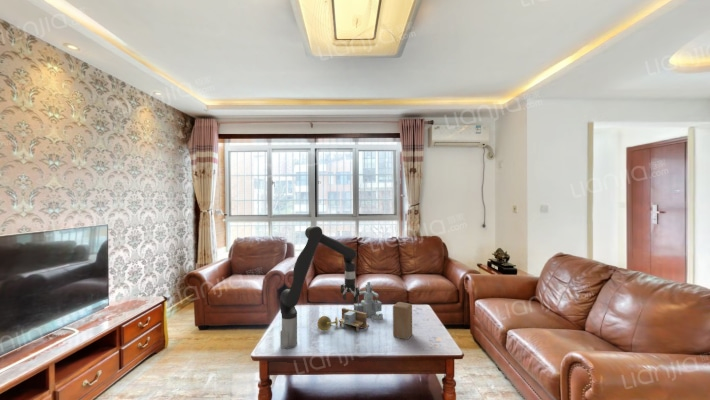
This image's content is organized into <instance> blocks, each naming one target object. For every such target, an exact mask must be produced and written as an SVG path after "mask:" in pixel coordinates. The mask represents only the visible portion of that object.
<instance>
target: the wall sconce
mask: <svg viewBox="0 0 710 400" xmlns="http://www.w3.org/2000/svg"><path fill="white" fill-rule="evenodd" d="M332 324H334V325H335V327H336V328H338V327H339V320H338V317H337V316H335V321H331V318H330V317H329V316H327V315H322V316H320V317H319V318H318V320H317V324H316V325H317V328H318V329H319V330H320V331H322V332H327V331H329V330H330V328H331V326H332Z"/></svg>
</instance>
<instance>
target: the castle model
mask: <svg viewBox="0 0 710 400" xmlns="http://www.w3.org/2000/svg"><path fill="white" fill-rule="evenodd" d="M359 294H360V295H359V296H357V303H356V302H355V303H353V310H355V311H359V312H363V313H367V319H369V318H371V319H372V320H373V321H379V320H383V318H384V314H383V313H379V312H382V306H383V305H382V303H383V302H382V301H380V300H378V298H379V293H377V292H375V291H374V290H373V286H372V284H371V282H370V281H367V283H366V284H365V290H361V291H360V290H359ZM361 295H363V299H362V300H360V296H361ZM374 297H375V300H374Z"/></svg>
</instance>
